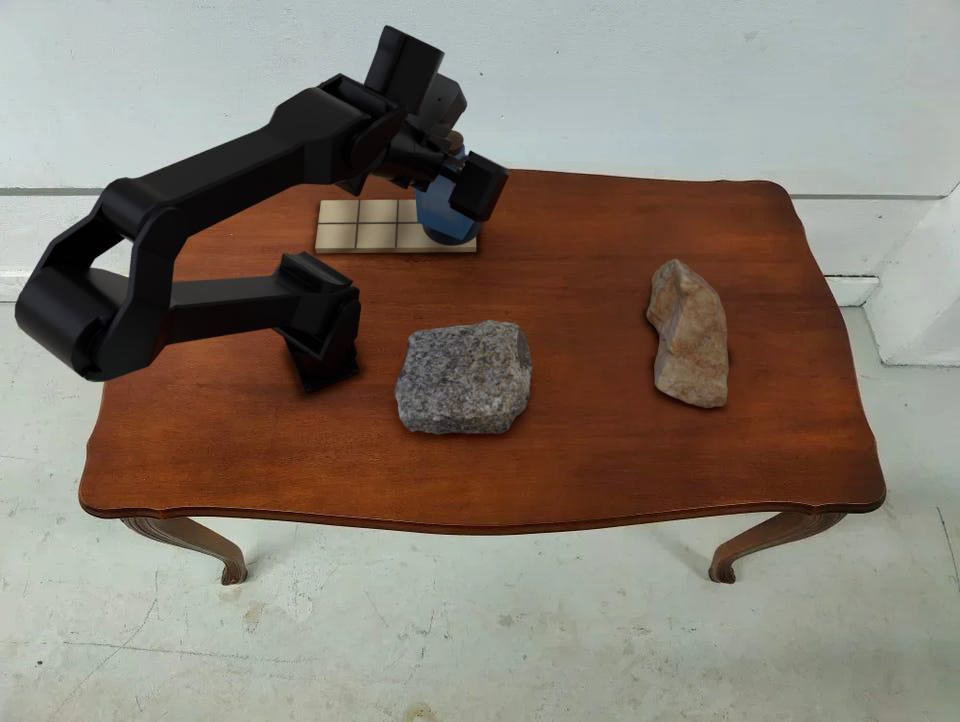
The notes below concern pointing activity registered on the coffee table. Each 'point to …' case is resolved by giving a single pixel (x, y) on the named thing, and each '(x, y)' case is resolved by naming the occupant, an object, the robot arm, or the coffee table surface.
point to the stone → (689, 336)
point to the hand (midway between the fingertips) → (456, 168)
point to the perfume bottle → (443, 199)
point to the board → (382, 229)
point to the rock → (464, 378)
